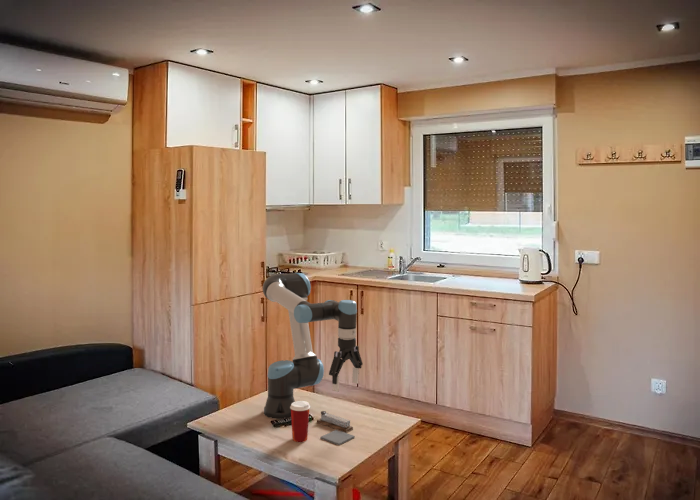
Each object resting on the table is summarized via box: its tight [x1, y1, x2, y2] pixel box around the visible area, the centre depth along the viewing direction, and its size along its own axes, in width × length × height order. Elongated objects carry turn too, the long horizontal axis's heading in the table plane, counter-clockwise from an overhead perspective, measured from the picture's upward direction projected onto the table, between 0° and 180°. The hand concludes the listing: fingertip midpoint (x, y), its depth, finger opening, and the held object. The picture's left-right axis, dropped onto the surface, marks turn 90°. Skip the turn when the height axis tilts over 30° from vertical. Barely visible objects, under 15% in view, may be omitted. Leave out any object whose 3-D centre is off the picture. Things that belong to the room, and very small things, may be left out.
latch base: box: [316, 417, 354, 434], centre depth 251 cm, size 17×4×1 cm, turn 51°
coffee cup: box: [290, 400, 311, 443], centre depth 236 cm, size 8×8×15 cm
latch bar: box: [320, 410, 351, 428], centre depth 251 cm, size 15×3×3 cm, turn 51°
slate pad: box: [320, 429, 355, 446], centre depth 238 cm, size 10×10×1 cm
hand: (345, 386), depth 243 cm, fingers open, 13 cm apart
